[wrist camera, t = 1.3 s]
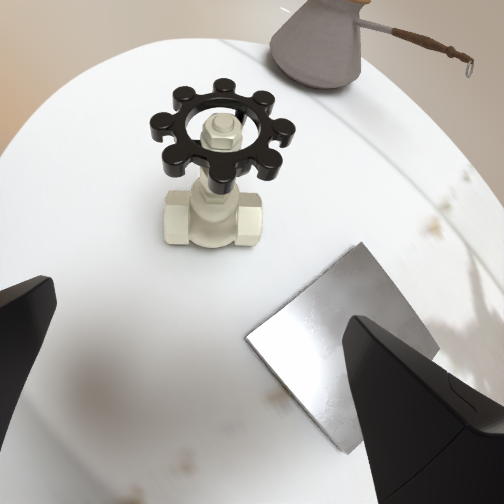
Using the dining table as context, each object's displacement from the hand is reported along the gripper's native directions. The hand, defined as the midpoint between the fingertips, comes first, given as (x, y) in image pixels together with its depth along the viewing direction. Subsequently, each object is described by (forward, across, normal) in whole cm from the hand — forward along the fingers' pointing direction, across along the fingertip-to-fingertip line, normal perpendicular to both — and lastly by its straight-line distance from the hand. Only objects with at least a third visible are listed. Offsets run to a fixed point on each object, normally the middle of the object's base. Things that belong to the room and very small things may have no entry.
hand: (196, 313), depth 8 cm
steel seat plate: (+10, -12, +9) cm, 18 cm away
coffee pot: (+30, -12, -11) cm, 34 cm away
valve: (+16, 0, +4) cm, 16 cm away
